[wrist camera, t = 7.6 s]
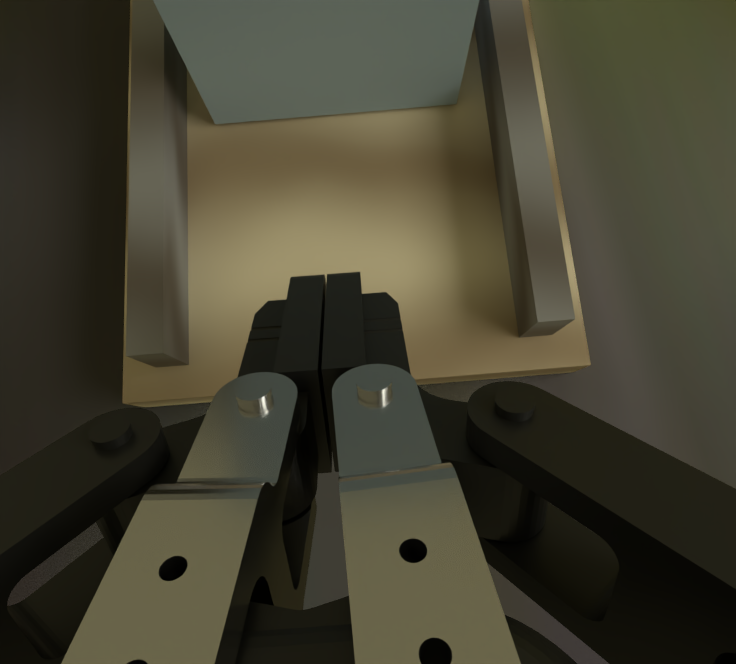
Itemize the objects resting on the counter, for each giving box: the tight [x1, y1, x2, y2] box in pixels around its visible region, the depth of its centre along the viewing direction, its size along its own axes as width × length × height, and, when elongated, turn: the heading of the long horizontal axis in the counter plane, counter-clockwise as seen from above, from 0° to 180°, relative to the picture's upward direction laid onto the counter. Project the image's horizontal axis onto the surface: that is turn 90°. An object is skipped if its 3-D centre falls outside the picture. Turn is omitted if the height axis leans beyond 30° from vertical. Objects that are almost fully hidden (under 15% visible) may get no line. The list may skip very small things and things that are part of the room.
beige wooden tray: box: [123, 0, 591, 407], centre depth 19 cm, size 26×14×4 cm, turn 5°
